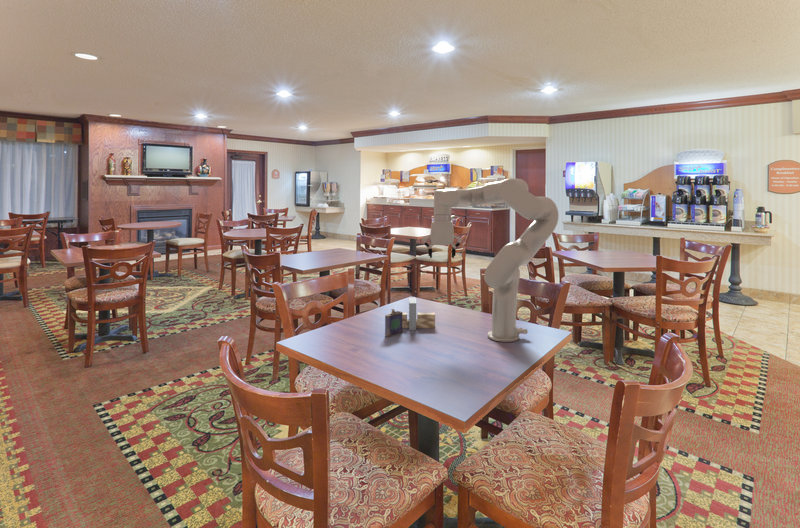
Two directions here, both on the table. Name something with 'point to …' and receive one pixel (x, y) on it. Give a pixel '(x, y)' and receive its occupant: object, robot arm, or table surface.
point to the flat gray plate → (412, 313)
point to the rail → (420, 320)
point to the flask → (393, 323)
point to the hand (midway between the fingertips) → (441, 257)
